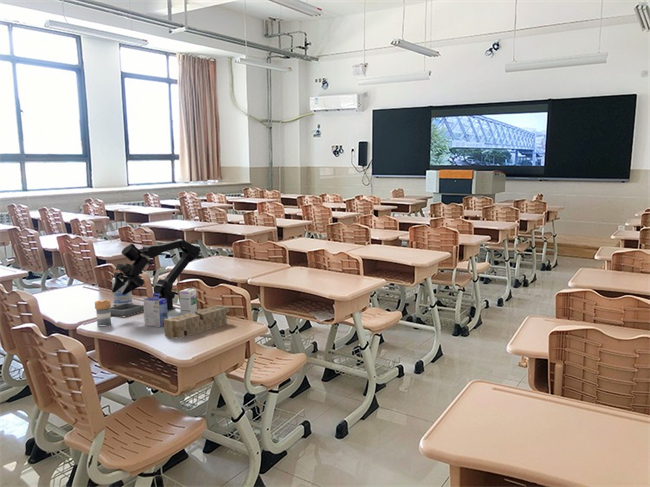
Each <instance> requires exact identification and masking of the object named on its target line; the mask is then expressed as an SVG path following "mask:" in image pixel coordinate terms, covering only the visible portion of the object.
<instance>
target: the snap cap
mask: <svg viewBox="0 0 650 487" xmlns="http://www.w3.org/2000/svg"><path fill="white" fill-rule="evenodd" d="M111 304H112V303H111V300H110V299H99V300H95V301H94V308H95V310H96V309H98V310H101V309H108V308H111V307H112V305H111Z"/></svg>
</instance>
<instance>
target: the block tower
mask: <svg viewBox="0 0 650 487" xmlns="http://www.w3.org/2000/svg"><path fill="white" fill-rule="evenodd" d="M227 313H229V306H225V305H218V304H217V305H216V304H215V305H213V306H211V307H207V308H203V309H202V308H201V309H198V311H195V314H193V313H187V314H183V315H181V314H180V315H176V316H171V317H168V319H164V326H163V327H164V337H167V338H171V339H175V338H177V339H181V338H184V337H185V336H187V337H188V336H190V335H195V334H198V333H202V332H204V331H205V332H206V331H208V330H210V329H215V328H217V327H221V326H224V325H227V324H228V321H227Z"/></svg>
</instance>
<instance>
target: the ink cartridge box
mask: <svg viewBox="0 0 650 487" xmlns="http://www.w3.org/2000/svg"><path fill="white" fill-rule="evenodd" d="M156 295H158V297H157V296H156ZM159 296H160V294H159V293H154V292H153V294H152V297H148V298H144V299H143V300H142V301H143V305H144V311H143V317H144V318H143V321H144V322H143V323H144V326H150V327H159V328H161V327H164V319H168V318H169V314H168V313H169V312H168V311H167V299H164V298H159Z"/></svg>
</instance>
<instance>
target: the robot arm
mask: <svg viewBox="0 0 650 487" xmlns="http://www.w3.org/2000/svg"><path fill="white" fill-rule="evenodd" d="M175 249H176V250H177V249H179V250H180V251H181V252H182V253H181V257H180V259H179V260H178V261H177V262H176V264H175V265H174V266H173V268H172V269H171V270H170V272H169V273H168V274H167V275H166V277H164V279H161V278H159V279H158V280H157V281H156V283H155V284H154V287H153V294H154V293H159V294H160V296H159V298H164V299H167V311H172V310H176V307H174V302H173V299H175V297H176V293H175V292H173V291H172V290H173V287H174V286H173V285H174V284H175V281H176V280H177V279H178V278H179V276H180V275H181V274H182V273H183V271H184V270H185V269H186V267H187V266H188V265H189V263H191V262H193V261H194V260H196V259H197V257H199V256H200V254H201V253H200V252H201V251H200V248H199V247H198V246H194V245H193V244H192V243H190V242H188V241H187V240H185V239H181V238H179V239H176V240H173V241H168V242H163V243H160V244H150V245H144V246H142V248H138V247H137V246H136V245H135V244H134V243H130V244H129V245H127V246H125V247H124V248H122V251H121V255H122V256H124V257H125V258H126V259H127V260H129V261H130V262H132V264H130V263H117V264H116V267H115V271H116V272H115V273H113V278H115V284H114V287H113V288H112V291H111V292H112V294H113V293H114V292H116V291H117V290H118V289H120V288H121V287H122V286H124V285H125V283H126V282H127V281H128V284H127V286H126V288H125V289H124V291H123V293H122V294H123V295H125V294H127V293H129V292H130V291H134V290H136V289H138V288H140V287H143V285H144V284H145V280H144V279H143V278H141V277H140V275H143V273H144V272H143V270H144V269H145V268H146V267H147V265H148V266H153V263H152V259H153V258H156V257H158V256H159V255H161V254H163V253H165V252H168V251H171V250H175ZM149 258H151V259H149ZM119 271H120V272H119ZM155 296H157V297H158V295H155Z"/></svg>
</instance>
